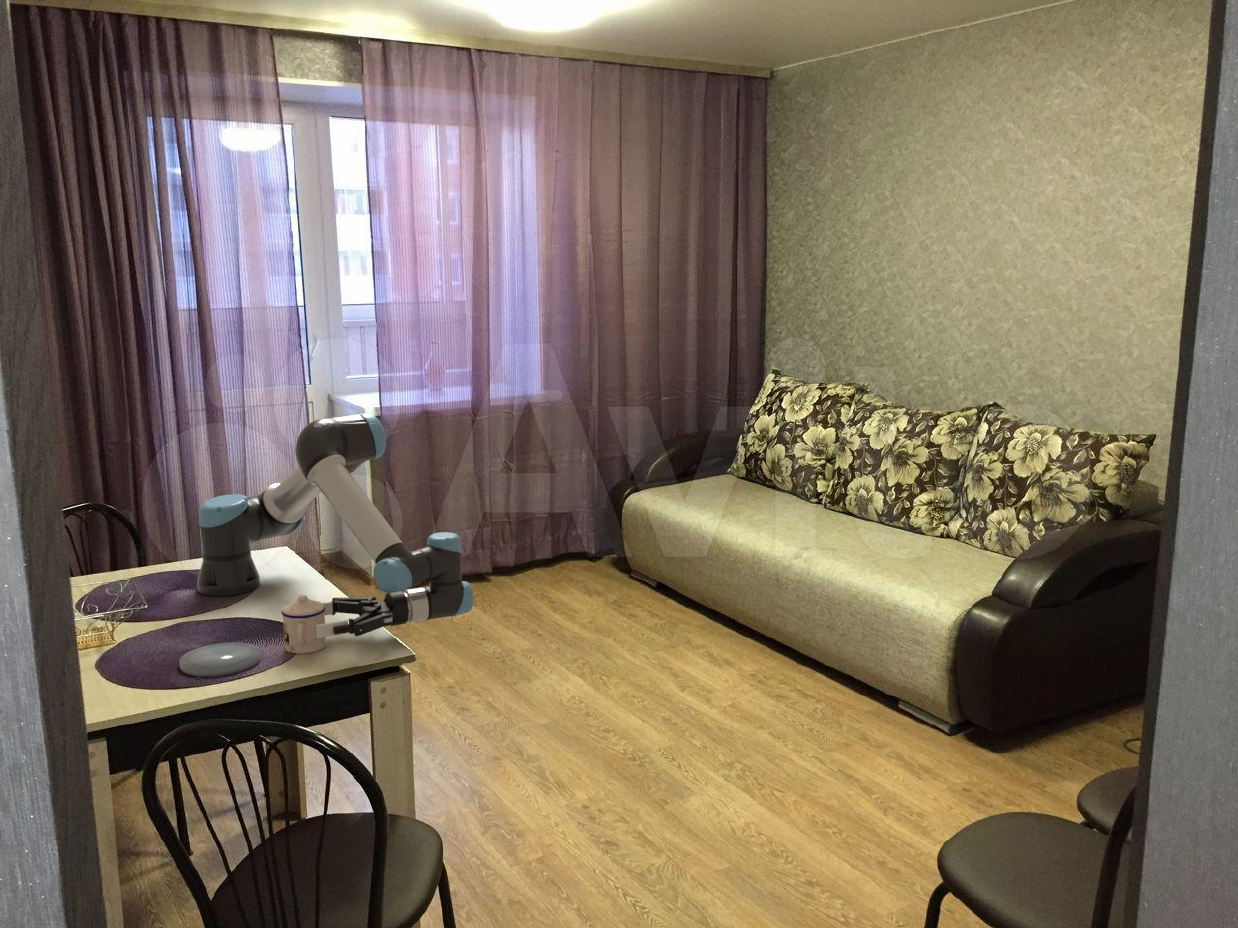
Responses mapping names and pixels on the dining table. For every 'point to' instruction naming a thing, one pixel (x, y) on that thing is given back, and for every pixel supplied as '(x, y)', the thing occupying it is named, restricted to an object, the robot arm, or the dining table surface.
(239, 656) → the dish
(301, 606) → the teacup with lid
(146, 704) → the dining table surface
